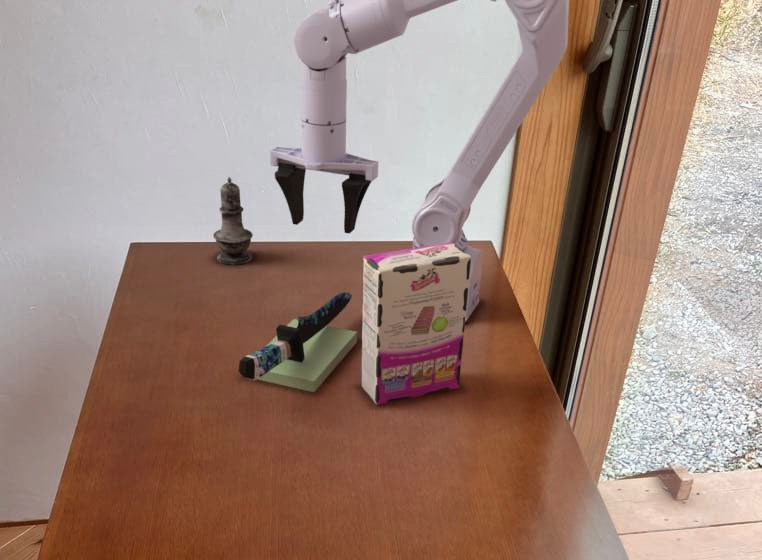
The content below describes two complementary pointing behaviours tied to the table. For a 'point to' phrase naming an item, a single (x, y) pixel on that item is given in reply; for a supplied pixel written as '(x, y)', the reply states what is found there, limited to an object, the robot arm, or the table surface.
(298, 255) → the table surface
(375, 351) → the candy bar box
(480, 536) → the table surface
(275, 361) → the knife
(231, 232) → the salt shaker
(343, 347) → the cutting board
